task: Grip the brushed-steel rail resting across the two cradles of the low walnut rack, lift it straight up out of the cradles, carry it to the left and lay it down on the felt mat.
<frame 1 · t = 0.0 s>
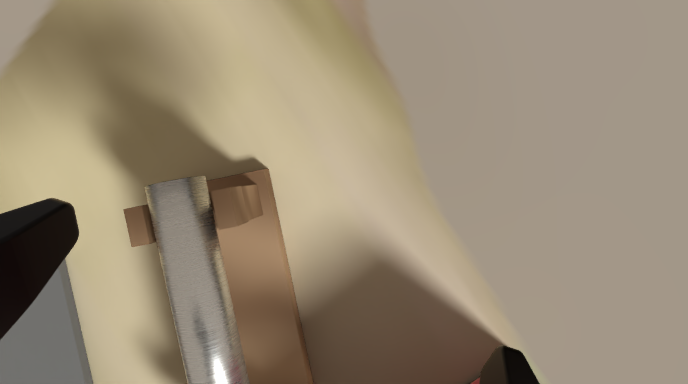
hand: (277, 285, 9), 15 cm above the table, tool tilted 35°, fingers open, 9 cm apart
mat: (33, 378, 26), on the table
rack: (252, 313, 25), on the table
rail: (223, 345, 20), point 4 cm above the table, touching rack
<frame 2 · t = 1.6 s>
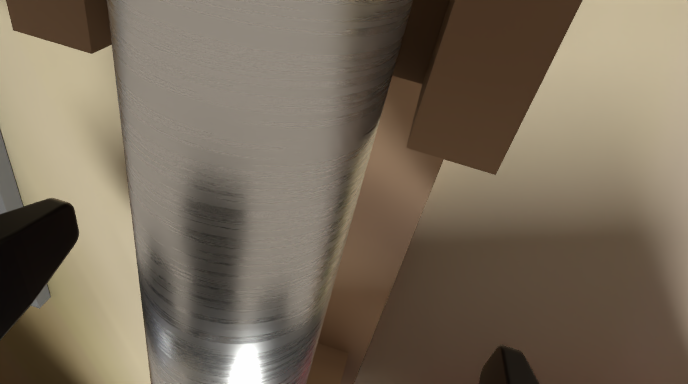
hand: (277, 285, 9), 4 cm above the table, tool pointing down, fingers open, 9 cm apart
rack: (324, 186, 12), on the table
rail: (259, 319, 8), point 4 cm above the table, touching rack
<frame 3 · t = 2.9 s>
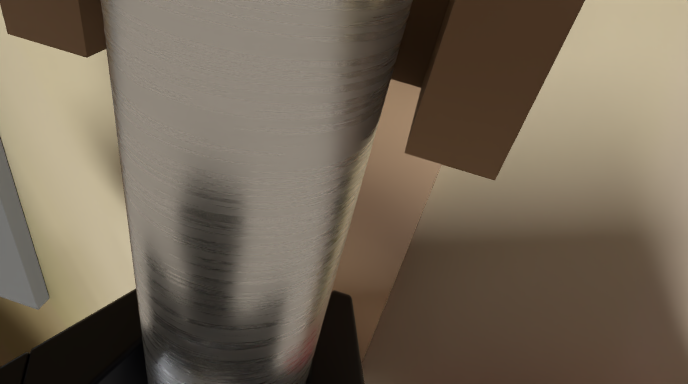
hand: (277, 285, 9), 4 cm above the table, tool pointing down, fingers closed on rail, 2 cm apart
rack: (323, 188, 12), on the table
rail: (258, 323, 8), point 4 cm above the table, touching gripper, rack
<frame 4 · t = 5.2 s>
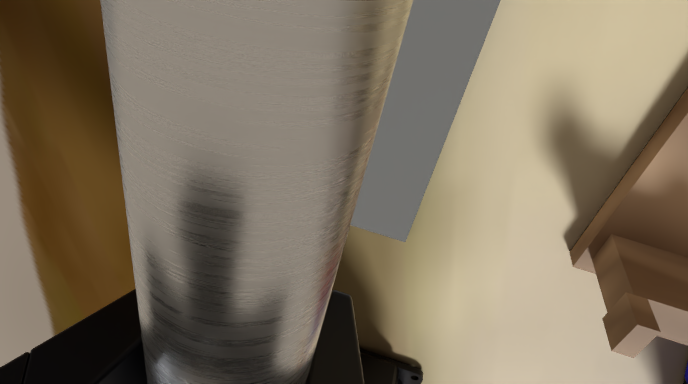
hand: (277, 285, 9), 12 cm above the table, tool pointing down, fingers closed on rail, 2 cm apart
mat: (379, 70, 19), on the table
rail: (258, 321, 8), point 13 cm above the table, touching gripper
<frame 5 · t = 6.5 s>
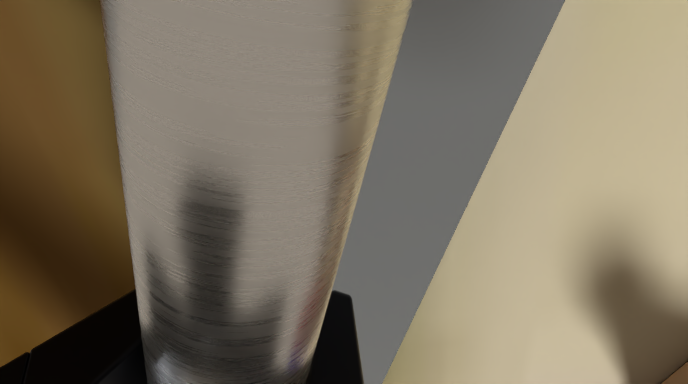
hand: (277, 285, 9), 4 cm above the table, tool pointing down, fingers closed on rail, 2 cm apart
mat: (325, 182, 12), on the table
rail: (258, 321, 8), point 5 cm above the table, touching gripper
when the fingers open (1 cm above the table, at t = 7.6 s): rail drops 2 cm, resting on mat.
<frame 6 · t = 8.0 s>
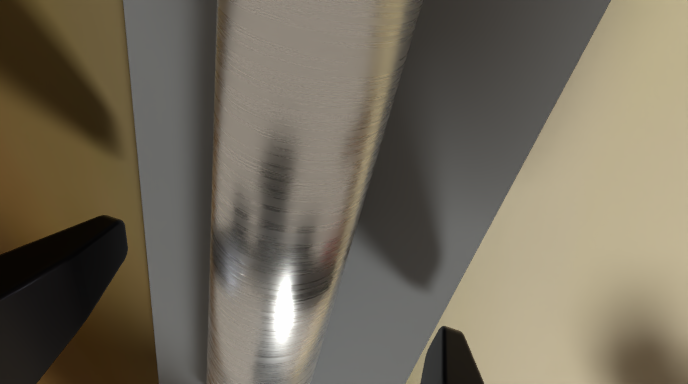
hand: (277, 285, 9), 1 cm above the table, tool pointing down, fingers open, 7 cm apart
mat: (299, 236, 10), on the table
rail: (292, 252, 10), point 1 cm above the table, touching mat
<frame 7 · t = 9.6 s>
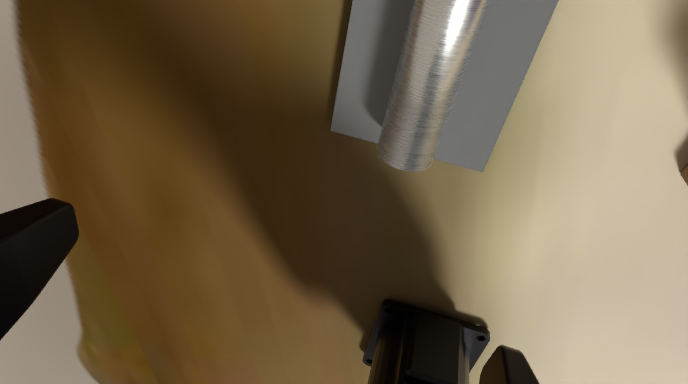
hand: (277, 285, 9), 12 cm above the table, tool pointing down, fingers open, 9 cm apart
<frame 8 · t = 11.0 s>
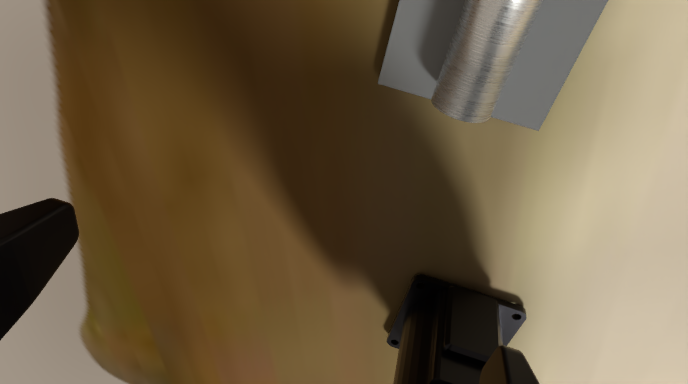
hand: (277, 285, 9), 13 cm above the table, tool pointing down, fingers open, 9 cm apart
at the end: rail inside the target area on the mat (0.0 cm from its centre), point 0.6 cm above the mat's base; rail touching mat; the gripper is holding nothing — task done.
